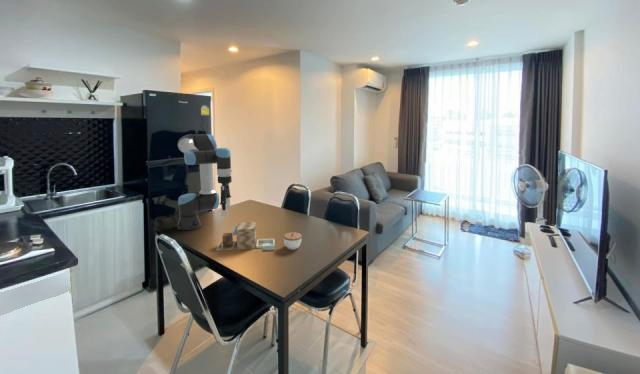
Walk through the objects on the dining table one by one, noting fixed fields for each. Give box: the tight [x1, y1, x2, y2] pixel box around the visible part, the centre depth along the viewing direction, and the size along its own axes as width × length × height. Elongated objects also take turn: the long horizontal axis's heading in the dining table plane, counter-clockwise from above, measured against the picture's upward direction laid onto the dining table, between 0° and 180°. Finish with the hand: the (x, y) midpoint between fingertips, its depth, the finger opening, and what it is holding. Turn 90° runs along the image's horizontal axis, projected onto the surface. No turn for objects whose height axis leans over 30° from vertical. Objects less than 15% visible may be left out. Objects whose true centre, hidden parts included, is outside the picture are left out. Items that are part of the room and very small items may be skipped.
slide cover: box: [232, 225, 238, 236], centre depth 178 cm, size 10×10×2 cm
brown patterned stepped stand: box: [215, 221, 257, 251], centre depth 178 cm, size 22×12×14 cm, turn 99°
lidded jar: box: [283, 232, 302, 251], centre depth 180 cm, size 11×11×9 cm
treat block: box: [222, 232, 234, 248], centre depth 177 cm, size 5×5×7 cm
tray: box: [255, 238, 276, 251], centre depth 181 cm, size 11×11×3 cm
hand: (226, 211), depth 174 cm, fingers open, 13 cm apart
